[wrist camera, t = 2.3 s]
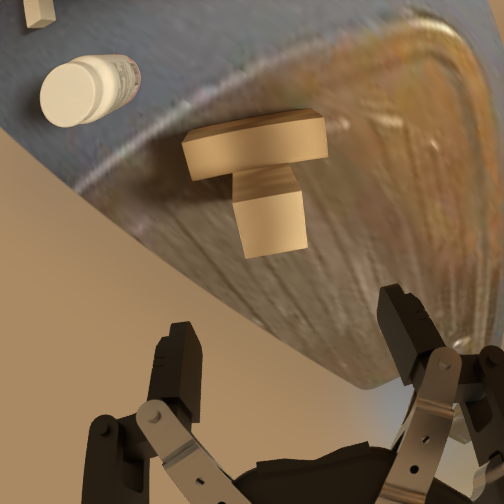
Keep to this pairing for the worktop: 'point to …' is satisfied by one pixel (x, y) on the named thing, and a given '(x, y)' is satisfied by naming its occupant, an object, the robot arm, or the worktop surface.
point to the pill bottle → (88, 88)
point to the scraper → (261, 173)
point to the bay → (39, 13)
